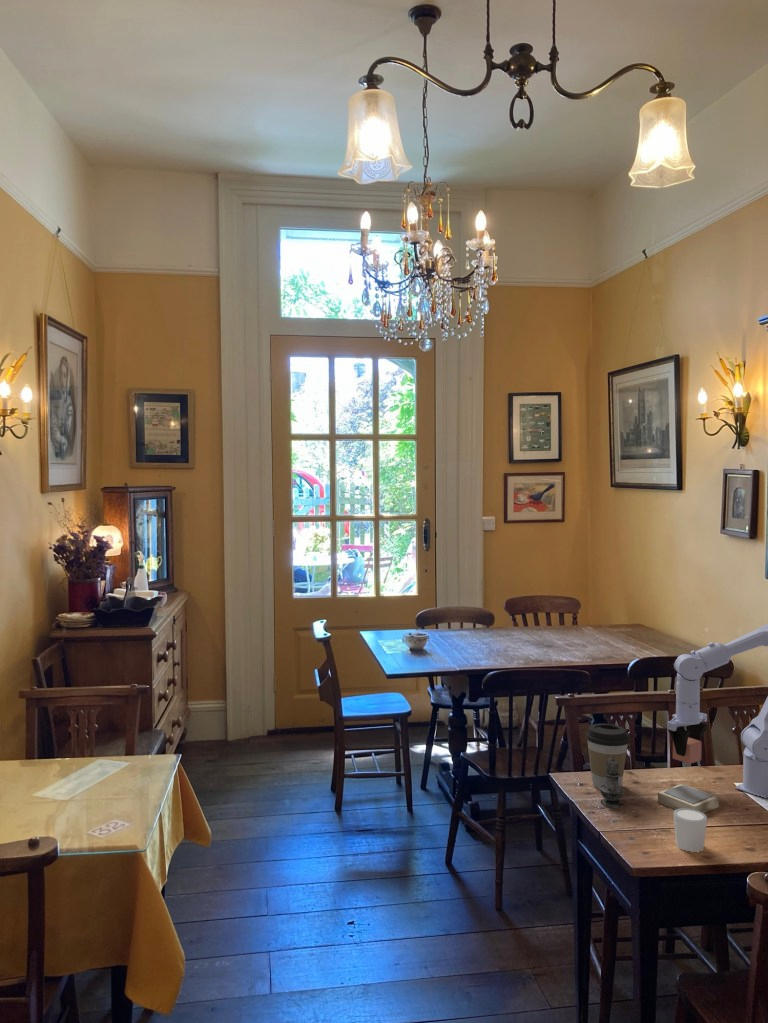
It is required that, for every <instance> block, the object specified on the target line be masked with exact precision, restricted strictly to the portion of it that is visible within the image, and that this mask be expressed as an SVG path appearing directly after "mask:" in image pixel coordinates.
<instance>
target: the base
mask: <svg viewBox="0 0 768 1023" xmlns="http://www.w3.org/2000/svg"><path fill="white" fill-rule="evenodd" d="M719 798H720V797H719V796H717V795H714V794H711V793H709V792H706V791H704V790H701V789H698V788H695V787H692V786H689V785H688V784H685V783H680V784H677V785H675V786H672V787H669V788H666V789H663V790H660V791H658V792H657V803H658V802H659V803H658V804H662V805H663V806H666V807H669V808H670V809H674V810H677V809H693V810H696V811H699V812H701V813H703V814H705V813H708V812H711V811H712V810H714V809H717V808H719V801H720V800H719Z"/></svg>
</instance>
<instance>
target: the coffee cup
mask: <svg viewBox="0 0 768 1023" xmlns="http://www.w3.org/2000/svg"><path fill="white" fill-rule="evenodd" d="M584 736H585V737H584V738H585V739H586V742H587V747H588V757H589V759H588V760H589V766H590V767H589V768H590V775H591V781H592V785H593V787H594V786H595V788H597V789H598V790H600V786H602V785H605V782H606V775H605V774H604V773H605V772H606V761H607V760H608V759H610V758H611V756H612V755H613V758H614V759H615V760H617V761H618V773H619V774H620V776H618V783H619V786H620V787H622V784H623V778H624V772H625V771H624V770H625V765H626V757H627V754H628V753H627V751H628V745H629V743H631V738H630V735H629V734H628V733H627V730H626V729H625V728H624V727H622V726H620V725H618V724H611V723H594V724H591V725H590V726H589V728H588V730H587V731H585V735H584Z"/></svg>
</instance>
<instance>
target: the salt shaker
mask: <svg viewBox="0 0 768 1023" xmlns="http://www.w3.org/2000/svg"><path fill="white" fill-rule="evenodd" d="M604 774H605V775H606V782H605V785H602V786H600V789H599V790H600V793H601V797H603V798H602V799H601V800H600V803H601V805H602V806H604V807H606V806H607V808H612V809H617V808H619V809H620V808H621V807H623V805H624V803H623V802H622V800H621V799H622V797H623V795H624V793H625V789H624V788H623V787H622V786H621V787H620V786H619V783H618V776H620V774H619V773H618V761H617V760H615V759H614V758H613V755H612V756H611V758H610V759H608V760H607V761H606V772H605V773H604Z"/></svg>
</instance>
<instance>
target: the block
mask: <svg viewBox="0 0 768 1023" xmlns="http://www.w3.org/2000/svg"><path fill="white" fill-rule="evenodd" d="M673 759H674V760H677V761H679V762H683V763H685V764H689V765H691V764H694V763H697V762H700V761H702V740H701V741H699V740H696V739H693V738H688V741H687V747H686V754H685V756H681V755H678V754H677V753H676V749H675V745H674V742H673V741H672V760H673Z"/></svg>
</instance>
